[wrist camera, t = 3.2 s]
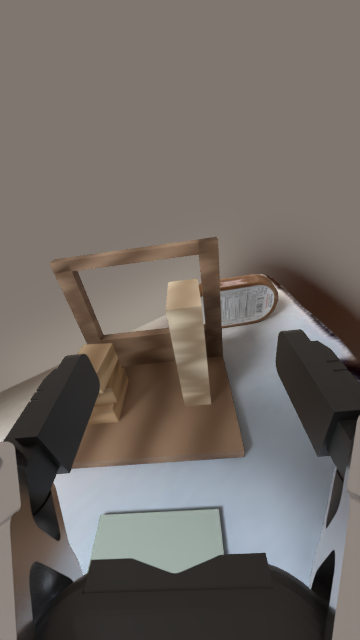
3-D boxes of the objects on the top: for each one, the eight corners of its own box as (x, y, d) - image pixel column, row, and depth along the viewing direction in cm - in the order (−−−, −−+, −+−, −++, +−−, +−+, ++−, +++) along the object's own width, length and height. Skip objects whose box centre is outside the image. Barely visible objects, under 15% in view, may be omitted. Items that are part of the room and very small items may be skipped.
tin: (270, 312, 41) (274, 268, 37) (278, 321, 39) (284, 275, 34) (188, 325, 41) (182, 283, 37) (190, 336, 39) (184, 292, 34)
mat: (43, 775, 11) (40, 778, 11) (101, 516, 19) (100, 515, 19) (250, 783, 10) (250, 786, 10) (218, 510, 19) (218, 508, 19)
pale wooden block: (184, 406, 26) (165, 310, 19) (184, 370, 31) (168, 282, 23) (211, 404, 26) (201, 305, 19) (206, 368, 30) (197, 278, 23)
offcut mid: (80, 409, 25) (72, 395, 23) (90, 372, 29) (83, 358, 28) (117, 402, 25) (110, 387, 23) (121, 365, 29) (115, 352, 28)
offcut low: (84, 424, 26) (76, 412, 24) (99, 383, 31) (93, 370, 29) (118, 421, 25) (112, 408, 24) (128, 380, 30) (123, 367, 29)
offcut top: (71, 393, 24) (61, 378, 22) (90, 359, 28) (83, 344, 26) (102, 393, 23) (94, 377, 22) (118, 358, 27) (112, 343, 26)
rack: (65, 468, 23) (-52, 337, 14) (103, 368, 35) (54, 259, 25) (244, 457, 22) (250, 301, 12) (221, 356, 33) (216, 236, 24)
